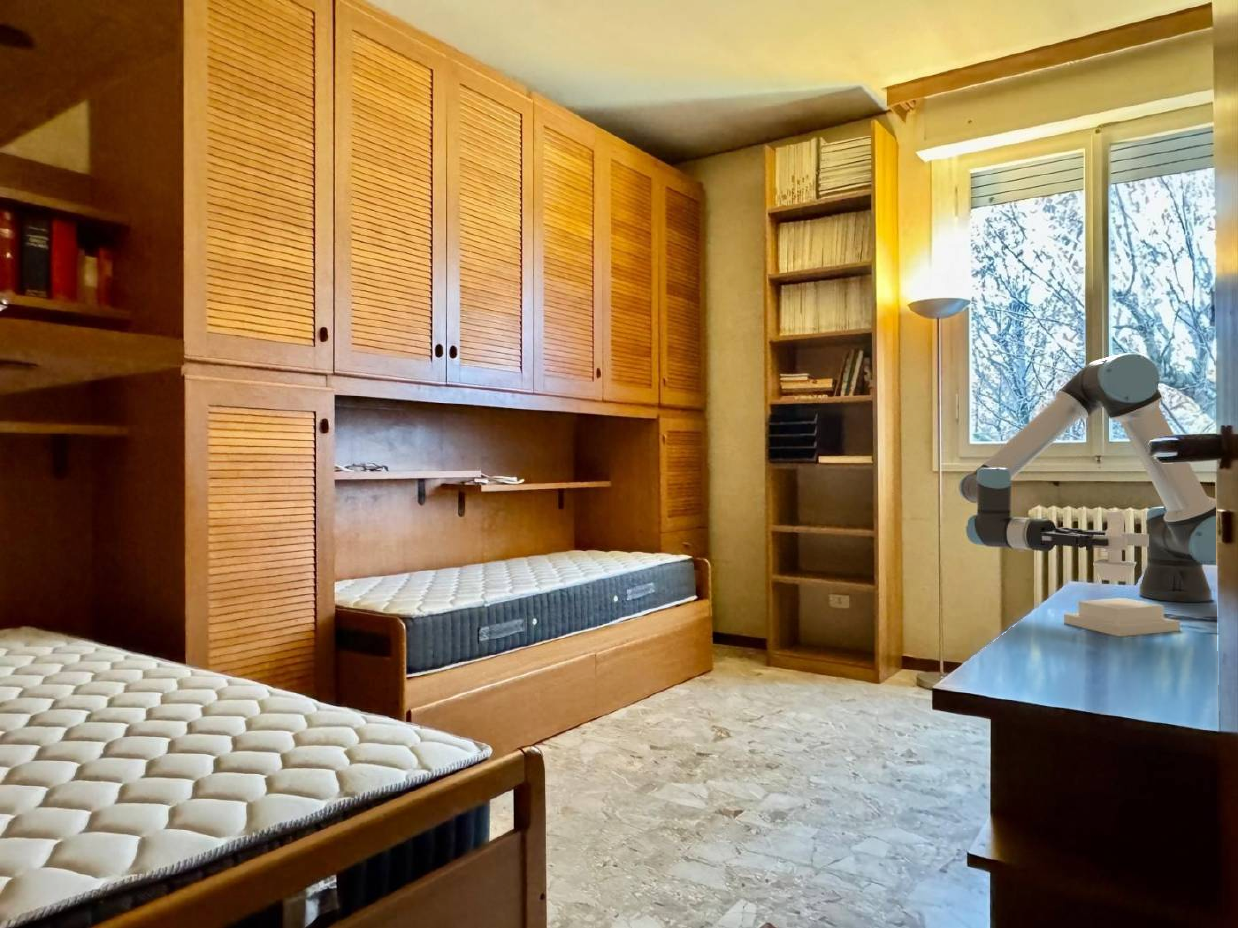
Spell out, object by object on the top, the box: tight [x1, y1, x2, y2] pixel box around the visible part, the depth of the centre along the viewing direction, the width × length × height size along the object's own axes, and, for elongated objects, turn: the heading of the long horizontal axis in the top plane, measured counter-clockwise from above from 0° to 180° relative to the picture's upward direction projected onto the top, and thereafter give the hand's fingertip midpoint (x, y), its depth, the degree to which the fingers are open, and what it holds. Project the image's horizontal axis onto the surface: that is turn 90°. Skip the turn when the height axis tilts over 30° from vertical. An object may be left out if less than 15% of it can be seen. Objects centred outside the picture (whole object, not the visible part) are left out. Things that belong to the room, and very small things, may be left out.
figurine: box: [1092, 510, 1138, 582], centre depth 175 cm, size 7×9×15 cm
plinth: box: [1063, 597, 1181, 637], centre depth 172 cm, size 16×14×5 cm
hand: (1137, 542), depth 171 cm, fingers closed on figurine, 9 cm apart
